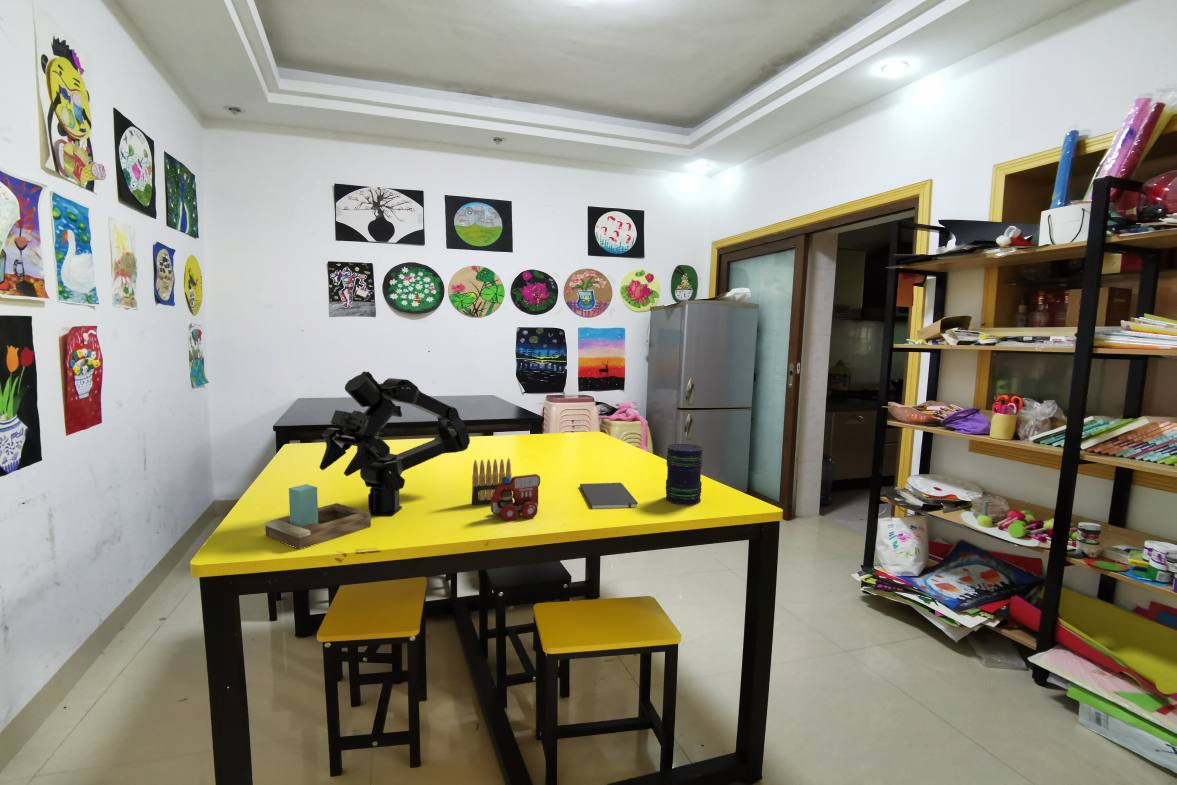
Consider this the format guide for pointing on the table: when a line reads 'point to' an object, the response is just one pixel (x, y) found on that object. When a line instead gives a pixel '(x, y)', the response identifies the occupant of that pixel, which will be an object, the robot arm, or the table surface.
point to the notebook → (608, 495)
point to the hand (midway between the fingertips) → (332, 472)
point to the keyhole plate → (319, 526)
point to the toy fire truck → (516, 497)
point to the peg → (303, 505)
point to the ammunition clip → (487, 481)
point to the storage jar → (684, 474)
